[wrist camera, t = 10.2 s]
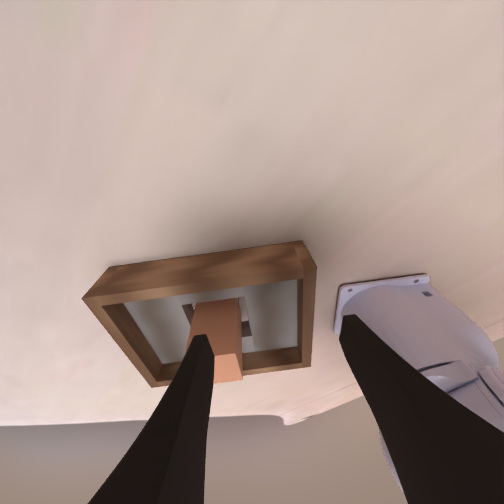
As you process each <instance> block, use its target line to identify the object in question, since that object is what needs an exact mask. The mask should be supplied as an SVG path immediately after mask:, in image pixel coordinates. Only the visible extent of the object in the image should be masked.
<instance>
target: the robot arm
mask: <svg viewBox="0 0 504 504" xmlns="http://www.w3.org/2000/svg"><path fill="white" fill-rule="evenodd" d="M429 280H430V276H428V275H427V274H423V275H415V276H408V277H401V278H393V279H386V280H378V281H371V282H363V283H356V284H349V285H343V286H341V287H340V289H339V295H338V302H337V309H336V316H335V323H334V330H333V331H334V333H335V334H336V335H339V334H340V337H339V341H340V344H341V347H342V349H343V352H344V355H345V357H346V360H347V362H348V364H349V366H350V368H351V370H352V372H353V374H354V376H355V378H356V380H357V382H358V384H359V386H360V388H361V390H362V392H363V394H364V396H365V398H366V400H367V402H368V404H369V406H370V408H371V410H372V412H373V415H374V417H375V419H376V421H377V424H378V426H379V433H380V440H381V445H382V449H383V453H384V456H385V458H386V461H387V463H388V466H389V468H390V470H391V472H392V474H393V476H394V478H395V480H396V482H397V483H398V485H399V487H400V488H401V490H402V491H403V493H404V494H405V497H406V499H407V502H408V504H504V371H503V370H499V369H498V368H499V358H498V354H497V351H496V349H495V347H494V345H493V344H492V342H491V340H490V339H489V337H488V336H487V335H486V333H485V332H484V331H483V330H482V329H481V328H480V327H479V326H478V325H477V324H476V323H474V322H473V321H472V320H471V319H470V318H469V317H467V316H466V315H465V314H464V313H463V312H461V311H460V310H459V309H458V308H457V307H455V306H454V305H453V304H452V303H451V302H450V301H448V300H447V299H446V298H445V297H444V296H442V295H441V294H440V293H439V292H438V291H436V290H435V289H434V288H433V287H432V286H430V285H429V284H428V283H429ZM214 364H215V356H214V353H213V350H212V348H211V345H210V343H209V340H208V337H207V335H206V334H201V335H195V336H194V337H193V338H192V341H191V343H190V345H189V347H188V350H187V352H186V354H185V356H184V358H183V360H182V362H181V364H180V366H179V368H178V370H177V372H176V374H175V376H174V377H173V379H172V381H171V383H170V385H169V387H168V388H167V390H166V392H165V394H164V395H163V397H162V399H161V401H160V402H159V404H158V406H157V407H156V409H155V411H154V412H153V414H152V415H151V417H150V419H149V420H148V422H147V423H146V425H145V426H144V428H143V429H142V431H141V432H140V434H139V435H138V437H137V438H136V440H135V441H134V443H133V444H132V445H131V447H130V448H129V450H128V451H127V453H126V454H125V455H124V457H123V458H122V460H121V461H120V462H119V464H118V465H117V466H116V468H115V469H114V470H113V472H112V473H111V474H110V475H109V477H108V478H107V479H106V481H105V482H104V484H103V485H102V486H101V487H100V489H99V490H98V491H97V492H96V494H95V495H94V496H93V498H92V499H91V500H90V501H89V503H88V504H204V480H205V458H206V438H207V429H208V421H209V414H210V406H211V398H212V390H213V382H214Z"/></svg>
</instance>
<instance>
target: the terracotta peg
mask: <svg viewBox="0 0 504 504" xmlns="http://www.w3.org/2000/svg"><path fill="white" fill-rule="evenodd" d="M201 334H206V335H207V337H208V340H209V343H210V345H211V348H212V350H213V353H214V356H215V364H214V382H213V384H214V383H222V382H229V381H237V380H243V367H242V328H241V313H240V308H239V304H238V299H237V298H229V299H222V300H215V301H207V302H200V303H196V306H195V310H194V315H193V319H192V324H191V328H190V333H189V337H188V342H187V346H186V351H185V354H186V352H187V350H188V347H189V345H190V343H191V341H192V338H193V337H194V336H195V335H201Z"/></svg>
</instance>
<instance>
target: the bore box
mask: <svg viewBox="0 0 504 504" xmlns="http://www.w3.org/2000/svg"><path fill="white" fill-rule="evenodd" d="M316 271H317V266H316V264H315V262H314V261H313V259H312V257H311V255H310V253H309V252H308V250H307V248H306V246H305V245H304V243H303V241H296V242H289V243H282V244H275V245H267V246H260V247H253V248H245V249H238V250H231V251H224V252H216V253H209V254H202V255H194V256H187V257H180V258H173V259H165V260H158V261H151V262H143V263H136V264H129V265H122V266H114V267H109V268H108V269H107V270H106V271H105V272H104V273H103V275H102V276H101V277H100V278H99V279H98V280H97V281H96V283H95V284H94V285H93V286H92V287H91V288H90V289H89V291H88V292H87V293H86V294H85V295H84V296H83V297H82V300H83V301H84V302H85V304H86V305H87V306H88V307H89V309H90V310H91V311H92V312H93V314H94V315H95V316H96V318H97V319H98V320H99V321H100V323H101V324H102V325H103V326H104V328H105V329H106V330H107V332H108V333H109V334H110V335H111V337H112V338H113V339H114V340H115V342H116V343H117V344H118V346H119V347H120V348H121V349H122V351H123V352H124V353H125V354H126V356H127V357H128V358H129V360H130V361H131V362H132V363H133V365H134V366H135V367H136V369H137V370H138V371H139V372H140V374H141V375H142V376H143V377H144V379H145V380H146V381H147V383H148V384H149V385H150V386H151V388H153V387H160V386H168V385H170V383H171V381H172V379H173V377H174V376H175V374H176V372H177V370H178V368H179V366H180V364H181V362H182V360H183V358H184V356H185V351H186V346H187V342H188V337H189V333H190V328H191V324H192V319H193V315H194V310H193V308H192V305H191V304H192V303H200V302H207V301H215V300H222V299H229V298H237V297H244V298H245V303H246V308H247V313H248V318H249V321H248V322H241V328H242V367H243V376H244V375H252V374H259V373H267V372H274V371H282V370H290V369H297V368H305V367H311V353H312V337H313V320H314V304H315V287H316Z"/></svg>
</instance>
